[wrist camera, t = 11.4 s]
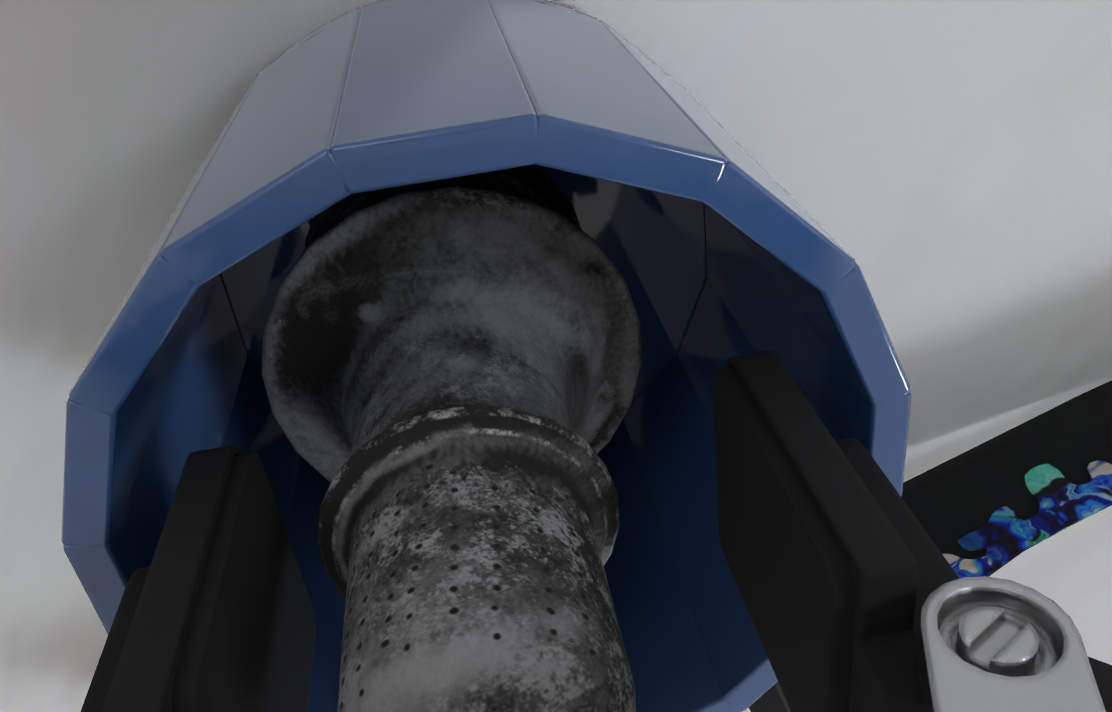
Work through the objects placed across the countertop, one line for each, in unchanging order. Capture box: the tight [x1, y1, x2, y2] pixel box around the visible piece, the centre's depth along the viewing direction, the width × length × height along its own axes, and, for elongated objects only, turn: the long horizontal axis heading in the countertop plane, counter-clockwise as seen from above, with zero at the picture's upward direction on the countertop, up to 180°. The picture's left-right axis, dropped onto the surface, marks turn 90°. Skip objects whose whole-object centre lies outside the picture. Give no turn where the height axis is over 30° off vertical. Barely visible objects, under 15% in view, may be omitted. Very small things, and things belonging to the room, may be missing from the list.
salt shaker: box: [261, 164, 642, 712], centre depth 12 cm, size 6×6×12 cm
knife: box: [749, 381, 1112, 712], centre depth 21 cm, size 31×3×4 cm, turn 110°
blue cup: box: [62, 0, 911, 712], centre depth 15 cm, size 10×10×8 cm
